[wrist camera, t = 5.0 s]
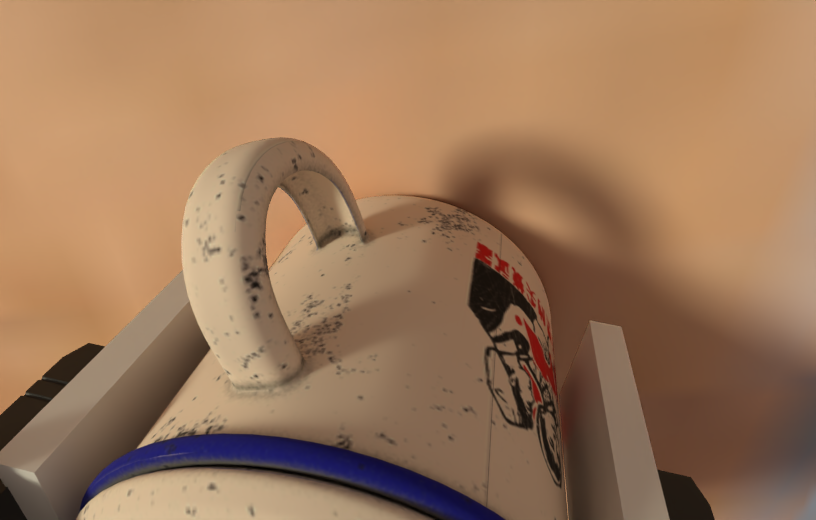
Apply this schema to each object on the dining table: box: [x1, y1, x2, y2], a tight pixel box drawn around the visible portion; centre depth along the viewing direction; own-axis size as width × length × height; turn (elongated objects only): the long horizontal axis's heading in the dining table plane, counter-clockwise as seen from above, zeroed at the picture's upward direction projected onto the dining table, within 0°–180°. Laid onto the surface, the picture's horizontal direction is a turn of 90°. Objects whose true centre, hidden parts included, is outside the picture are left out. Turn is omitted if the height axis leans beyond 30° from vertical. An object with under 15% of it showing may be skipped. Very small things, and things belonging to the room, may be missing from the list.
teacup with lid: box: [76, 138, 568, 520], centre depth 10 cm, size 12×9×12 cm
